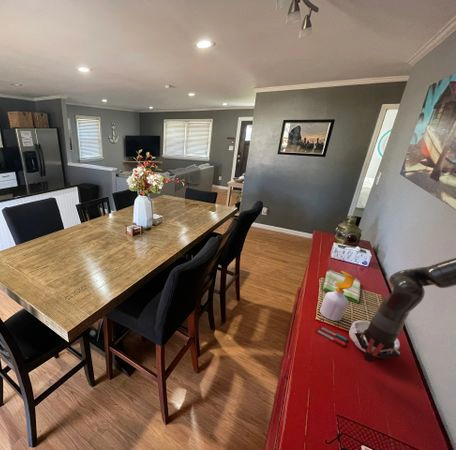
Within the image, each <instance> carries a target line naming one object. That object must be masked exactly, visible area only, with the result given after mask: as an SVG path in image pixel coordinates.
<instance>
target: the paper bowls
mask: <svg viewBox="0 0 456 450" xmlns="http://www.w3.org/2000/svg"><path fill="white" fill-rule="evenodd" d="M370 322H371V321H368V320H363V319H361V320H354V321H353V322H352V323H351V325H350V328H349V331H348V336H349V337H350V340H351V341H352V342H353V343H354V344H355V346H356V347H357V348H358V349H359V350H361V351H362V352H363V353H364V354H365V353H366V350H365V349H363V348H362V347H361V345H360V343H359V341H358V339H357V337H356V335H355V333H356V331H357V330H359V331H362V332H364V331H365V330H366V329H367V328H368V326H369V324H370ZM363 338H364V340H365V342H366V344H367V345H369V343H368V342H367V340H366V338H365V336H364V337H363ZM394 344H395V346H394V347H395V348H396V349H397V350H399V349H400V347H401V342H400V340H399V338H397V339H396V340H395V342H394ZM374 349H375V347H374V346H373V348H372V351H373V350H374ZM382 351H390V349H387V350H381V351H380V352H382ZM371 353H372V352H371ZM375 358H379V357H378V356H376V357H375Z"/></svg>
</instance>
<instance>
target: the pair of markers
mask: <svg viewBox="0 0 456 450" xmlns="http://www.w3.org/2000/svg"><path fill="white" fill-rule="evenodd" d="M317 333H318V334H319V335H321V336H323V337H325V338H326V339H329V340H331V341H333V342H334V343H336V344H339V346H341V347H345V346H346V342H345V341H343V340H341V339H339V338H337V337H335V336H334V337H333V336H332V335H329V334H328V333H326V332H324V331H322V330H321V329H318V330H317Z"/></svg>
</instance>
